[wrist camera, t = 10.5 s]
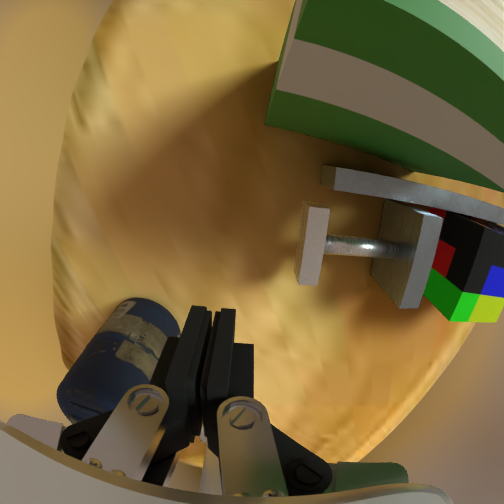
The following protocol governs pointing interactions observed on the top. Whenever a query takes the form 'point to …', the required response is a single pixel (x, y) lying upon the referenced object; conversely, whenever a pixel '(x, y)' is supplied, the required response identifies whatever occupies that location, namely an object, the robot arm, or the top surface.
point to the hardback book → (399, 82)
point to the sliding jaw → (375, 248)
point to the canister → (116, 359)
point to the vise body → (410, 193)
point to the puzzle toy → (467, 270)
